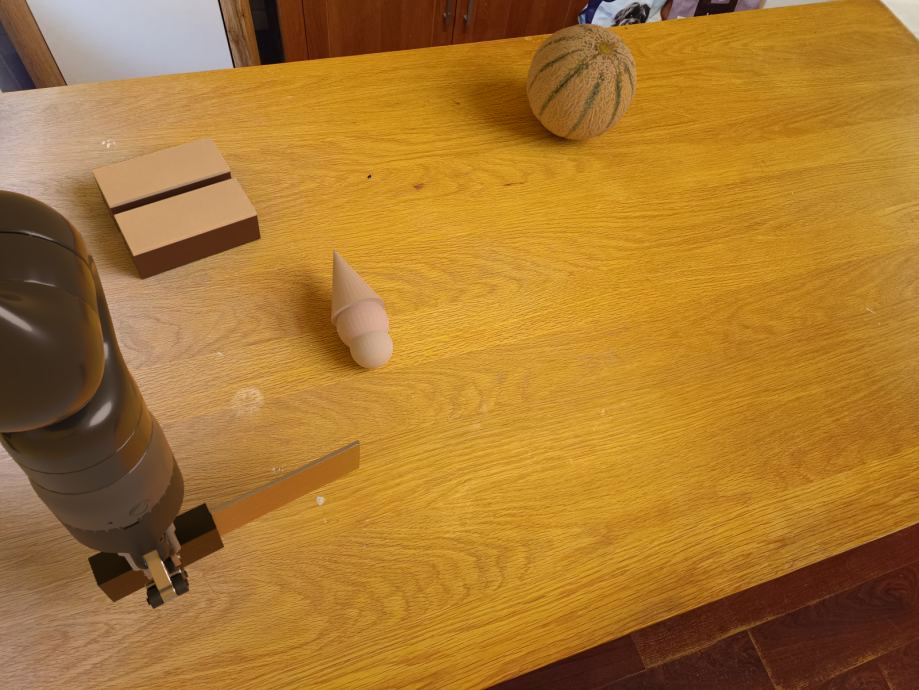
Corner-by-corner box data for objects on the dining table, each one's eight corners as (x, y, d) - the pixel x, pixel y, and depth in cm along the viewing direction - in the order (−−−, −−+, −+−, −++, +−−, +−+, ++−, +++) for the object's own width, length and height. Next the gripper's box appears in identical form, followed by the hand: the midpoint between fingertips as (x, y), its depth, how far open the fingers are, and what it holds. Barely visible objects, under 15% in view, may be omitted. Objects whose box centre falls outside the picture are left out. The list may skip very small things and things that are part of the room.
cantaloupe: (533, 82, 111) (556, -14, 98) (627, 112, 109) (662, 18, 97) (504, 141, 102) (524, 44, 90) (605, 174, 101) (640, 81, 89)
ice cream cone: (338, 225, 79) (386, 347, 74) (369, 241, 84) (416, 356, 79) (295, 255, 81) (339, 376, 76) (328, 269, 86) (371, 382, 81)
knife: (113, 602, 58) (95, 584, 53) (103, 576, 59) (85, 555, 55) (364, 477, 66) (365, 452, 62) (352, 455, 67) (352, 430, 63)
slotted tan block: (142, 279, 82) (132, 253, 79) (102, 198, 88) (91, 169, 85) (261, 238, 88) (256, 212, 84) (215, 164, 94) (210, 136, 90)
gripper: (12, 407, 47) (89, 510, 61) (79, 601, 41) (147, 665, 55) (132, 362, 50) (179, 470, 64) (210, 536, 44) (243, 613, 58)
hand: (164, 560), depth 59 cm, fingers closed on knife, 2 cm apart
